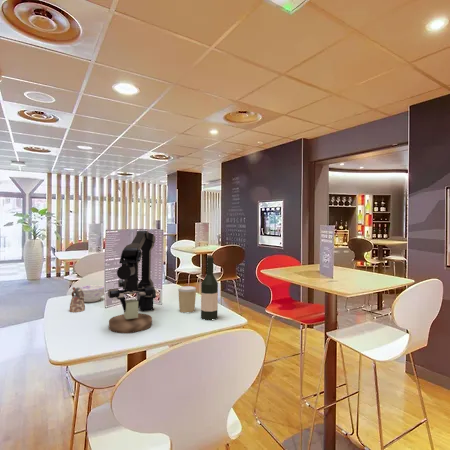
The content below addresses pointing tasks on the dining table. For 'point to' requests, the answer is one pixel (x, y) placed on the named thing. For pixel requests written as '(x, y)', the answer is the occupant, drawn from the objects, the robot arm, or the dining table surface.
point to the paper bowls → (92, 292)
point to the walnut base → (130, 323)
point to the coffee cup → (187, 298)
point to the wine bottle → (209, 293)
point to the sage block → (131, 309)
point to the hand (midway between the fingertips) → (131, 311)
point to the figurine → (77, 300)
